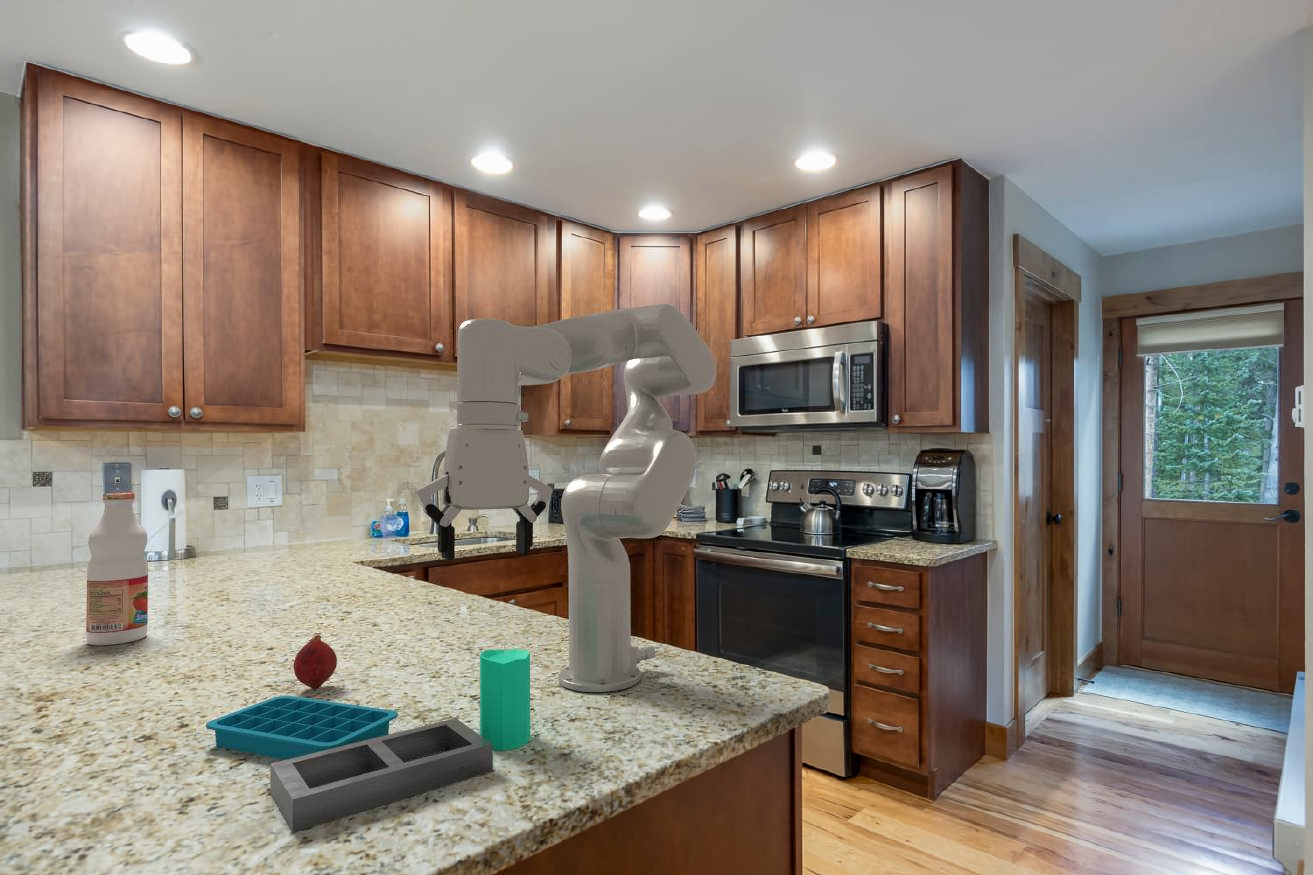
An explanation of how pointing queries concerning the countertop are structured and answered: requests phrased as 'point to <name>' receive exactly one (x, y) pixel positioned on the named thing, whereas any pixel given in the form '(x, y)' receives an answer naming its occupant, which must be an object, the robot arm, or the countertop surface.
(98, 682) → the countertop surface
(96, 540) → the fruit juice
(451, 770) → the hollow block
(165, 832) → the countertop surface
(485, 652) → the candle
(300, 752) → the ice cube tray
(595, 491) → the robot arm
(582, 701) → the countertop surface
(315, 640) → the onion
